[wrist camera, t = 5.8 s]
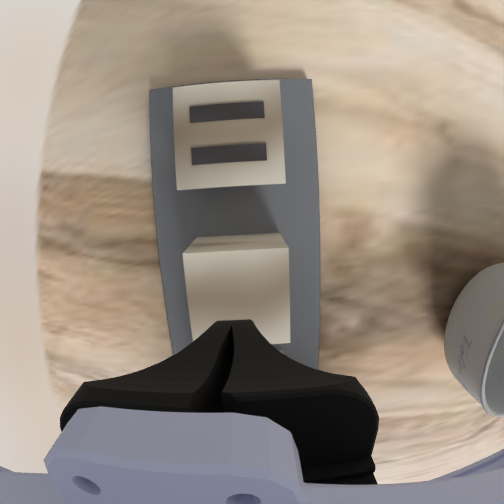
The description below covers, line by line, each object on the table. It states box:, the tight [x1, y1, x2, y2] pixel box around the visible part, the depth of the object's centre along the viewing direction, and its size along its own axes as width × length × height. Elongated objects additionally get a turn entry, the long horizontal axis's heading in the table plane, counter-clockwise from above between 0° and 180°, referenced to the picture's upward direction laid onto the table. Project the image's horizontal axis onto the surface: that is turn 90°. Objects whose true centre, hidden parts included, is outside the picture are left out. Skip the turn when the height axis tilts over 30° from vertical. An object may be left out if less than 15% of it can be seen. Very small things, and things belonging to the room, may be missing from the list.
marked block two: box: [173, 80, 286, 190], centre depth 16 cm, size 5×5×5 cm
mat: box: [149, 79, 320, 370], centre depth 21 cm, size 24×10×1 cm, turn 3°
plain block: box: [182, 233, 290, 344], centre depth 18 cm, size 5×5×4 cm
